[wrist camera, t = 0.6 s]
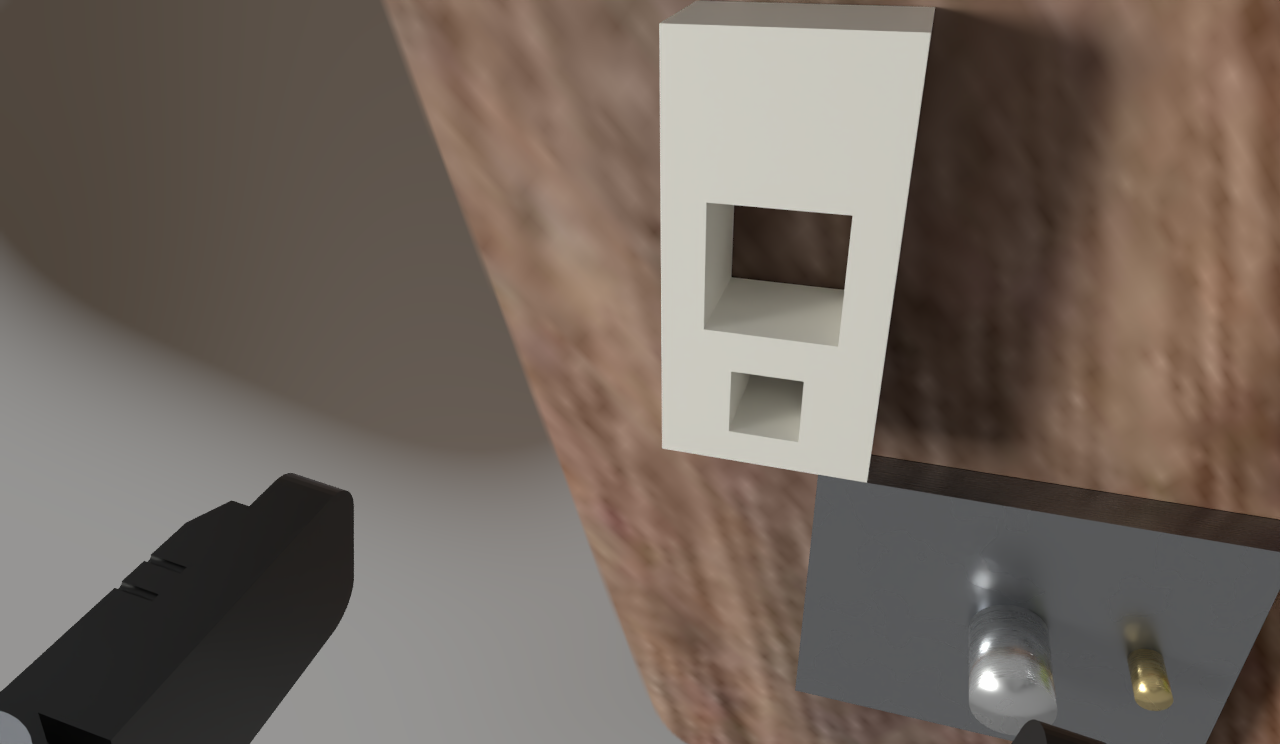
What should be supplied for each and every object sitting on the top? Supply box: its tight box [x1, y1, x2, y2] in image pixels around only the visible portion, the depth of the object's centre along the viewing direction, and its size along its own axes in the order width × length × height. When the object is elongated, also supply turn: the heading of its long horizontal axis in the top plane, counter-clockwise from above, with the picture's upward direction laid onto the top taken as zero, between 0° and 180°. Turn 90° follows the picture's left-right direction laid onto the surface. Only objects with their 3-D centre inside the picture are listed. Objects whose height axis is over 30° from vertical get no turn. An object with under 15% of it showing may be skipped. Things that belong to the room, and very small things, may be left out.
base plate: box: [795, 455, 1280, 744], centre depth 28 cm, size 13×10×4 cm
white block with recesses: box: [659, 1, 935, 483], centre depth 24 cm, size 12×6×4 cm, turn 179°
